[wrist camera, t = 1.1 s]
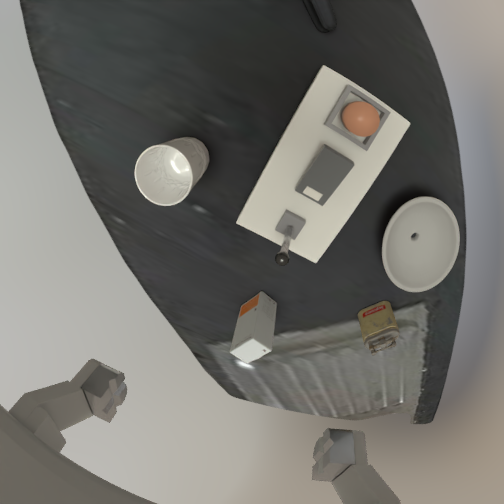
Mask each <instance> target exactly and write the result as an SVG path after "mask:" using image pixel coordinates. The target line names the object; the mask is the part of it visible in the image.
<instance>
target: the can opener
mask: <svg viewBox="0 0 504 504" xmlns="http://www.w3.org/2000/svg"><path fill="white" fill-rule="evenodd" d="M303 1H304V3H305V6H306V8H307V10H308V12H309V14H310V16H311V18H312V20H313V22H314V24H315V25H316V27H317V29H318V30H319V31H321V32H328V31H330V30H333V29H335V28H336V25H337V23H336V18H335V15H334V12H333V9H332V6H331V3H330V0H303Z"/></svg>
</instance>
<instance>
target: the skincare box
mask: <svg viewBox="0 0 504 504" xmlns="http://www.w3.org/2000/svg"><path fill="white" fill-rule="evenodd" d="M276 308H277V303H276V302H275V301H274V300H273V299H271V298H270V297H269V296H268V295H266V294H265V293H264V292H263V291H261V292H260V293H258V294H257V295H256V296H254V297H253V298H252V299H250V300H249V301H247V302H246V303H244V304H243V305H241V309H240V312H239V317H238V321H237V325H236V329H235V333H234V337H233V341H232V345H231V349H230V353H231V354H233V355H235V356H236V357H238V358H239V359H241V360H242V361H244V362H245V363H249V362H251V361H253V360H256V359H258V358H260V357H262V356H263V355H265V354H267V353H269V352H271V351H272V344H273V335H274V326H275V317H276Z"/></svg>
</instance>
